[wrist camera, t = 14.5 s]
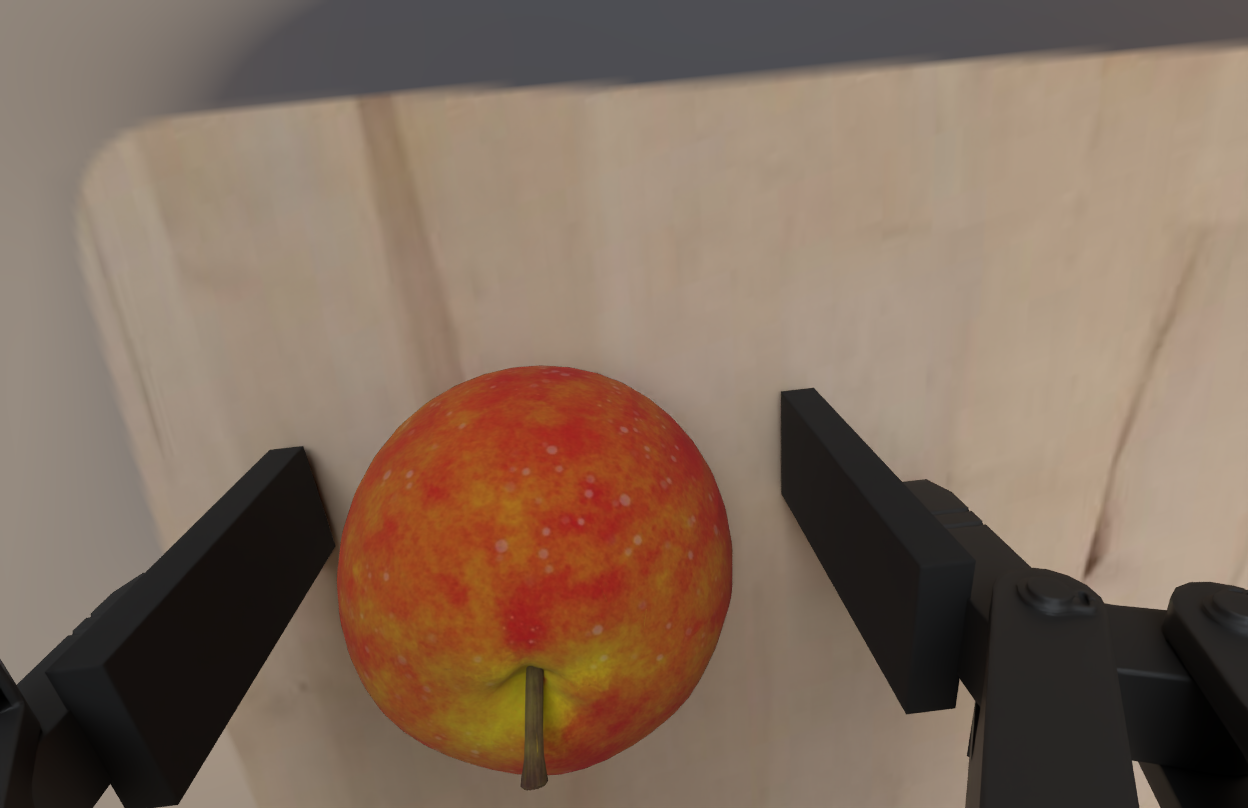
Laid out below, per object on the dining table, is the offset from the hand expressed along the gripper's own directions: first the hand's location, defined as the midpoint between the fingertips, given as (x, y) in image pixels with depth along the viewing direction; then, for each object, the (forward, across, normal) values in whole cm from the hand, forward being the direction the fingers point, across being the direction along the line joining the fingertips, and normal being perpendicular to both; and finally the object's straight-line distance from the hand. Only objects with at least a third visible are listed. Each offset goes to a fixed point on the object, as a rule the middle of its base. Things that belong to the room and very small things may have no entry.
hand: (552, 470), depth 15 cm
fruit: (0, 0, 0) cm, 0 cm away
